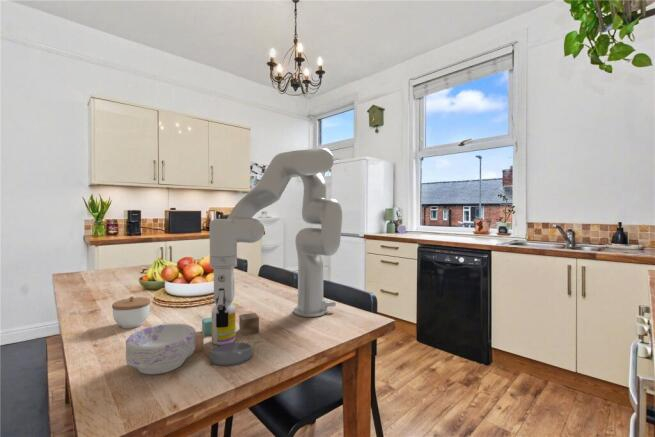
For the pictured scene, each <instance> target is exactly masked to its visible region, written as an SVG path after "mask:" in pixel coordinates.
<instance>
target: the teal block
mask: <svg viewBox="0 0 655 437" xmlns="http://www.w3.org/2000/svg"><path fill="white" fill-rule="evenodd" d="M201 332H202V333H203V334H204V336H209V335H212V316H211V317H206V318H201Z"/></svg>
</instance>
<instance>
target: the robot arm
mask: <svg viewBox="0 0 655 437" xmlns="http://www.w3.org/2000/svg"><path fill="white" fill-rule="evenodd" d="M333 166H334V155H333V153H332V152H331V151H330V149H328V148H325V147H319V148H312V149H297V150H290V151H286V152H280V153H278V154H276V155H275V156H274V157H273V158H272V160H271V161H270V163H269V164H268V166H267V168H266V169H265V171H264V172H263V174H262V175H261V177H260V179H259V180H258V183H257V184H256V185H255V187H253V188H252V189H251V190H250V191H248V192H247V193H246V195H244V196H243V197H242V198H241V199H239V201H238V202H237V203H236V204H235V205H234V207H233V208H232V210H231V211H230V213H229V214H228V216H227V218H216V219H212V220H211V221H210V222H209V268H210V269H213V300H214V301H213V302H214V303H215V305H216V304H217V313H216V327H217V328H220V327H228V312H227V305H228V302H230V303H231V304H232V303H233V301H234V299H235V294H236V293H235V268H236V267H238V244H239V243H246V244H247V243H248V244H251V243H252V244H253V243H254V244H255V243H257V242H258V241H260V240H261V239H262V238H263V237H264V235H265V231H266V230H265V225H264V224H263V223H262V221H260V220H259V219H257V218H254V217H255V215H256V214H257V213H258V212H260V211H261V210H264V209H265V208H267V207H269V206H272V205H273V204H275V203H276V202H278V201H279V200H280V199H281V197H282V195H283V193H284V192H285V190H286V188H287V186H288V184H290V181H291V179H292V178H298V177H300V179H301V181H302V183H303V196H302V207H301V208H302V209H301V216H302V217H301V218H302V220H303V221H304V223H306V224H310V225H319V226H320V228H319V227H305V228H301V229H300V230H299V231H298V232H297V234H296V235H295V248H296V253H297V254H296V255H297V305H296V306H294V307H293V313H294V314H295V316H298V317H304V318H315V317H321V316H324V315H326V313H328V308H329V307H333V308H334V307H336V305H337V302H336V301H333V300H330V299H329V300H325V299H324V261H323V258H322V256H327V257H329V256H334V255H336V254H337V252H338V250H339V249H340V246H341V239H342V238H341V236H342V225H343V224H342V223H343V210H342V206H341V204H340V202H339V201H337V199H334V198H327V184H326V180H325V178H324V177H323V175H322V174H324V173H327V172H329V171H330V170H331V169H332V168H333ZM224 300H226V302H223V301H224ZM224 304H225V306H223V305H224Z"/></svg>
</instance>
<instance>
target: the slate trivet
mask: <svg viewBox="0 0 655 437" xmlns="http://www.w3.org/2000/svg"><path fill="white" fill-rule="evenodd" d="M253 356H254V348H253V346H252V345H251V344H249V343H246V342H241V341H240V342H237V341H235V342H234V341H233V342H232V343H227V344H223V345H217V346H215V347H214V348H212V349H211V350H210V351H209V355H208V357H209V358H208V360H209V362H210V363H211V364H213V365H214V366H220V367H231V366H232V367H233V366H237V365H241V364H243V363H244V364H245V362H248V361H249V360H250V359H251V358H252V357H253Z"/></svg>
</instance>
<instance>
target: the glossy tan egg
mask: <svg viewBox="0 0 655 437" xmlns="http://www.w3.org/2000/svg"><path fill="white" fill-rule="evenodd" d="M195 332H196V333H195V350H194V352H193V353H199V352H201V351H203V350H204V345H205V344H204V341H205V340H204V339H205V338H204V336H205V334H204V333H203V331H195Z"/></svg>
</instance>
